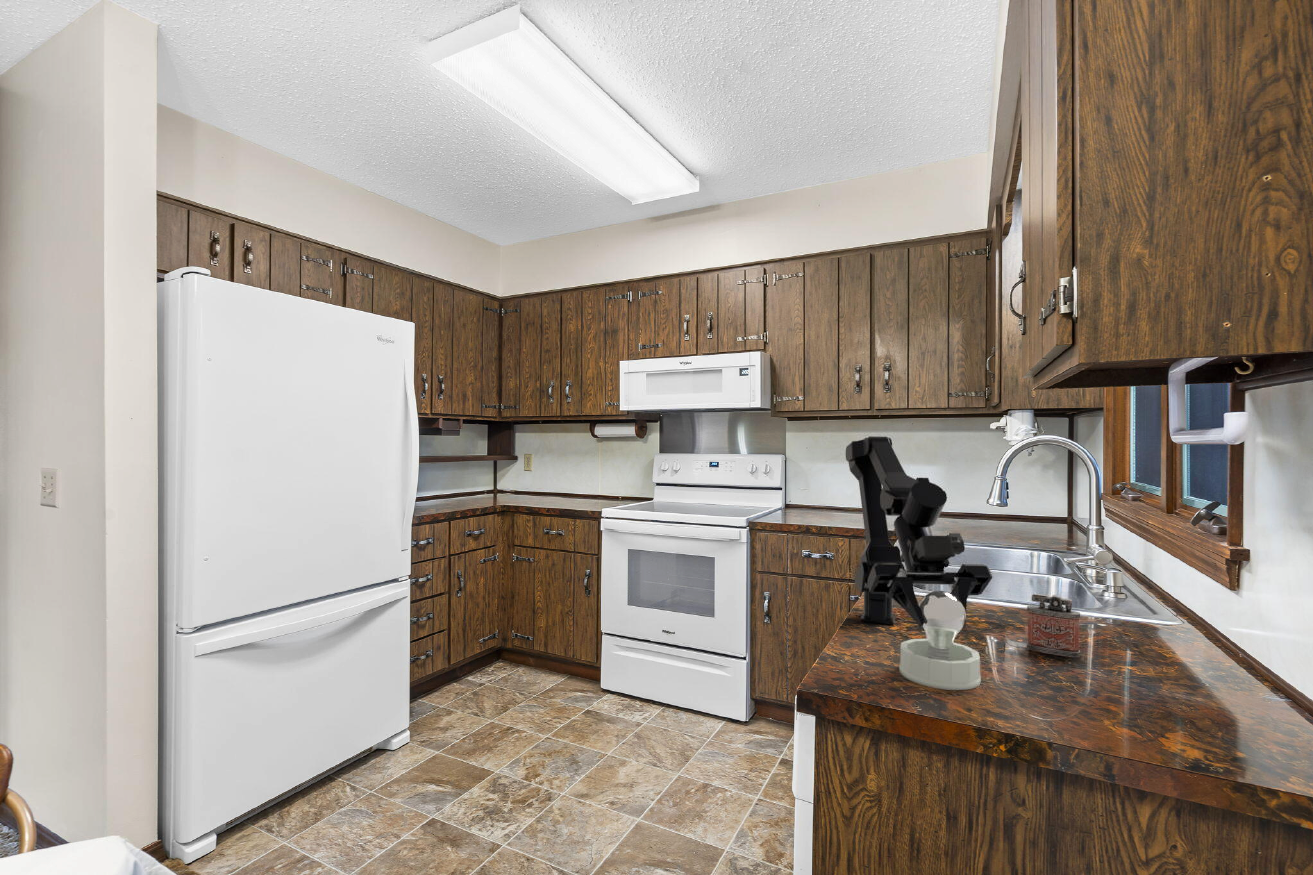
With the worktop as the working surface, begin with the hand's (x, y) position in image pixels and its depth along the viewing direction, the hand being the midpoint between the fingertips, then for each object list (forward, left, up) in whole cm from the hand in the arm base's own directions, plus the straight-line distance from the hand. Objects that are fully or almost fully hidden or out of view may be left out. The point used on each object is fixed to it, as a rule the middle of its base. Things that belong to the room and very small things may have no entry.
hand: (942, 625), depth 99 cm
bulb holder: (-1, 0, -8) cm, 8 cm away
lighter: (-22, +19, -8) cm, 30 cm away
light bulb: (-1, -1, -7) cm, 7 cm away
